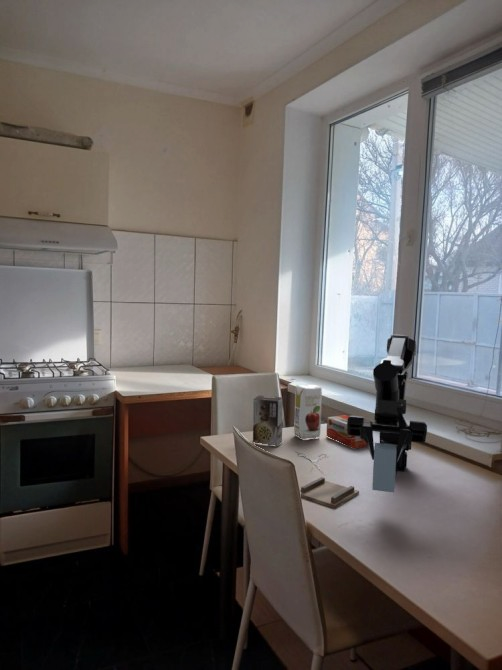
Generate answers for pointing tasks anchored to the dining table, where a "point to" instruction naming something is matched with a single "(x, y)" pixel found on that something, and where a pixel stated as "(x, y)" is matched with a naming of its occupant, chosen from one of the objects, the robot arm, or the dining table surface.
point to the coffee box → (267, 420)
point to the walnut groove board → (327, 493)
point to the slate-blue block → (384, 467)
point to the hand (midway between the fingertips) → (384, 460)
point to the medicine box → (342, 432)
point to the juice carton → (307, 411)
